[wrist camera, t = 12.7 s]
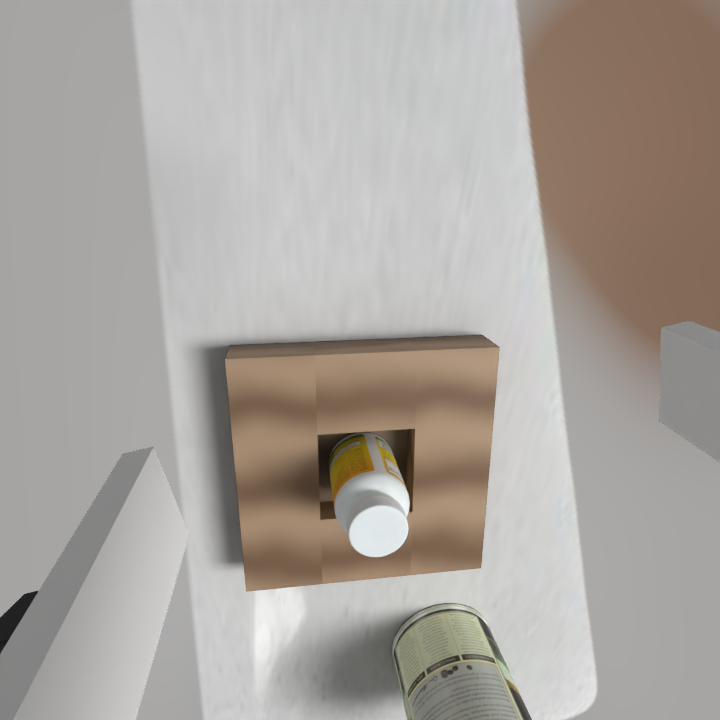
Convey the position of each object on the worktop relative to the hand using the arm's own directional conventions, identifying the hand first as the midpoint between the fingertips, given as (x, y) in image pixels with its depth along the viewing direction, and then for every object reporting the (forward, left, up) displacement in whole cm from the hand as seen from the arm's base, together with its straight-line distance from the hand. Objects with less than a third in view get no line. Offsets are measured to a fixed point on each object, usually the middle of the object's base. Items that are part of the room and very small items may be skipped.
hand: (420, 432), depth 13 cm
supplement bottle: (+6, +14, -26) cm, 30 cm away
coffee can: (+10, +37, -27) cm, 47 cm away
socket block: (+6, +14, -27) cm, 31 cm away
